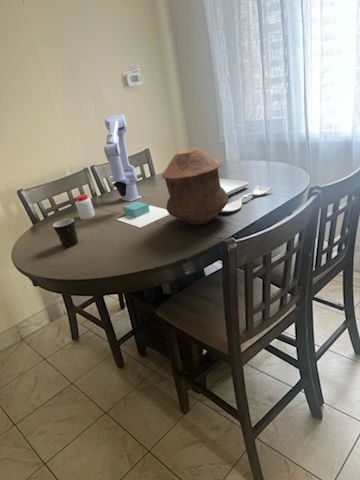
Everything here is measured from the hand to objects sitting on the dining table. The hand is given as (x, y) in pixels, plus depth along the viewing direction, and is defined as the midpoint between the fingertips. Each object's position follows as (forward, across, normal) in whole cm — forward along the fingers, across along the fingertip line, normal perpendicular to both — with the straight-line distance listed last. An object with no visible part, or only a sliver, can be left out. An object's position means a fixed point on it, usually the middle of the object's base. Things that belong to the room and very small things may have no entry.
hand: (123, 196), depth 172 cm
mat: (+8, +16, 0) cm, 18 cm away
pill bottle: (+8, -15, -15) cm, 23 cm away
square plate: (+8, +24, +37) cm, 45 cm away
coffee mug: (+8, +12, -37) cm, 40 cm away
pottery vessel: (+8, +45, +8) cm, 47 cm away
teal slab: (+6, +4, 0) cm, 7 cm away
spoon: (+8, +49, +33) cm, 59 cm away
